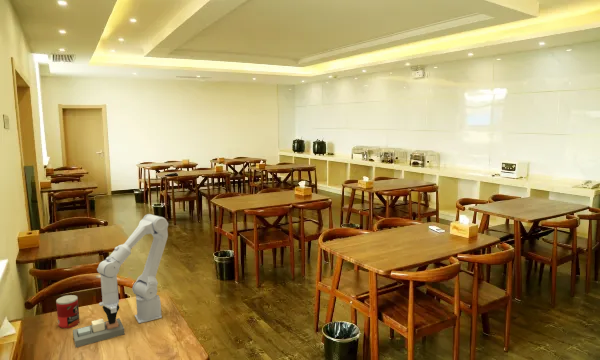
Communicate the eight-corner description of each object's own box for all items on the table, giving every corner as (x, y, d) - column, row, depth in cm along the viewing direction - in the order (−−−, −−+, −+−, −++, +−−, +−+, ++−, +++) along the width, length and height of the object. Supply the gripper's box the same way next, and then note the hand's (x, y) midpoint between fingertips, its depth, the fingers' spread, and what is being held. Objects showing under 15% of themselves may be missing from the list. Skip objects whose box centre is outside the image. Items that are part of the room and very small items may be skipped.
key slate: (89, 333, 162) (89, 326, 161) (90, 337, 158) (90, 330, 158) (78, 336, 159) (77, 329, 159) (79, 341, 156) (78, 333, 156)
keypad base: (119, 323, 170) (119, 318, 170) (124, 334, 162) (124, 328, 162) (73, 335, 161) (72, 329, 161) (75, 347, 153) (75, 341, 153)
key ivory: (103, 325, 164) (102, 318, 164) (104, 329, 161) (104, 322, 160) (92, 328, 162) (91, 321, 161) (93, 332, 159) (92, 325, 158)
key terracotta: (117, 326, 167) (116, 319, 167) (119, 330, 164) (118, 323, 163) (106, 329, 165) (105, 322, 164) (108, 333, 162) (107, 326, 161)
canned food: (70, 329, 166) (68, 303, 164) (53, 327, 168) (51, 302, 166) (84, 320, 173) (82, 295, 172) (67, 318, 175) (65, 294, 173)
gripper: (95, 286, 166) (98, 318, 168) (101, 299, 154) (103, 333, 156) (114, 282, 169) (117, 313, 171) (121, 295, 157) (123, 328, 159)
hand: (112, 323), depth 164 cm, fingers closed, pressing on key terracotta
